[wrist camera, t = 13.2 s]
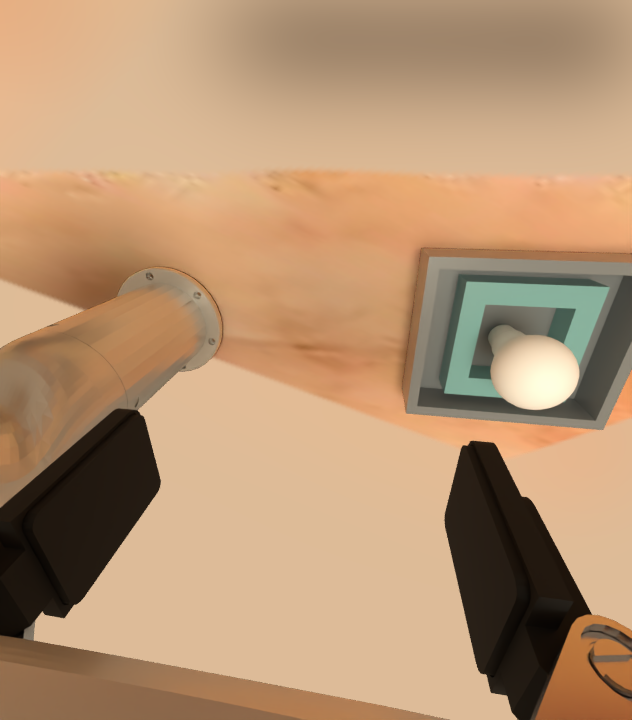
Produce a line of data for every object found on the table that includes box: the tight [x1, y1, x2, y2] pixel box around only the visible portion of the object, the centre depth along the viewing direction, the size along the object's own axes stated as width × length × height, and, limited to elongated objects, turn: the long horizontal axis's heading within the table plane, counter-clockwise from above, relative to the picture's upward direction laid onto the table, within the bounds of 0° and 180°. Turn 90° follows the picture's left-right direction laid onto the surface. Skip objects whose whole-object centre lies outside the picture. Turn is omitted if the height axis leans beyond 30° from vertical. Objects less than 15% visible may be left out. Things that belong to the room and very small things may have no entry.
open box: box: [402, 248, 632, 430], centre depth 34 cm, size 19×16×5 cm
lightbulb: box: [488, 325, 579, 410], centre depth 30 cm, size 6×6×11 cm
